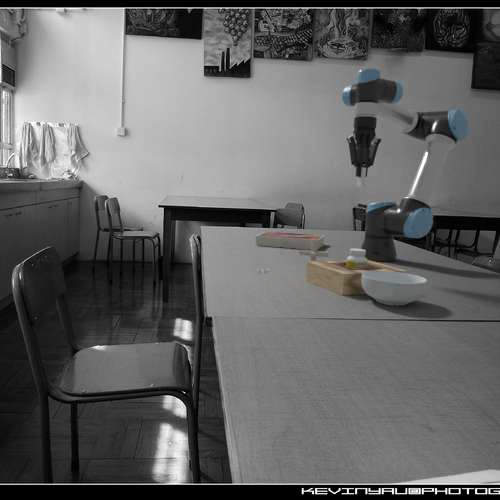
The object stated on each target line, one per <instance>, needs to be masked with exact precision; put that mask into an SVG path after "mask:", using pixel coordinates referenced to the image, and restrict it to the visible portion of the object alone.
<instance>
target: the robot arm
mask: <svg viewBox="0 0 500 500" xmlns="http://www.w3.org/2000/svg"><path fill="white" fill-rule="evenodd" d="M356 77H357V78H356V82H355V83H356V84H355V83H354V84H350V85H347V86H345V87H344V89H343V90H342V94H341V99H342V102H343V104H344V105H345V106H346V107H354V116H355V117H354V119H353V128H354V130H353V131H352V134H351V135H349V136H347V137H346V141H347V143H348V148H349V157H350V164H351V166H354V167H355V168H356V169H355V177H356V187H362V188H364V187H365V186H366V178H367V177H368V171H369V168H370V167H372V166H374V163H375V159H376V156H377V151H378V149H379V145H380V143H381V142H382V139H381V138H378V137H377V136H376V134H377V133H376V128H377V119H378V118H380V119H381V120H383V121H386V122H387V123H389V124H391V125H393V126H394V127H397V130H398V131H399V132H401V133H403V134H404V135H406V136H408V137H411V138H414V139H416V140H420V141H423V142H426V143H427V145H426V148H425V149H424V150H425V151H424V153H423V155H422V158H421V160H420V163H419V165H418V168H417V171H416V172H415V175H414V178H413V181H412V183H411V186H410V188H409V190H408V193H407V196H404V197H402V198H401V200H400V203H399V205H398V203H397V202H396V201H379V202H378V201H377V202H370V203H368V204H367V206H366V212H365V224H364V239H363V241H362V244H361V247H360V249H363V250H366V254H365V257H366V258H367V260H369V261H373V262H395V261H397V259H398V253H397V249H396V245H395V236H397V237H404V238H409V239H421V238H423V237H425V236H426V235H427V234H428V233H430V231H431V229H432V227H433V224H434V220H433V219H434V214H433V212H432V206H431V205H430V202H431V199H432V197H433V194H434V191H435V189H436V187H437V183H438V181H439V178H440V176H441V174H442V170H443V168H444V165H445V162H446V161H447V158H448V155H449V152H450V151H451V150H454V149H455V148H456V145H457V143H458V141H459V142H460V141H463V140H464V139H465V138H466V137H467V136H468V130H469V124H468V123H469V122H468V119H467V116H466V114H465V112H463V111H462V110H460V109H449V110H448V109H447V110H437V111H435V110H434V111H417V110H414V109H407V108H405V107H403V106H402V105H399V104H398V102H399V101H401V100H402V98H403V95H404V87H403V86H402V84H401V83H400V82H397V81H395V80H392V79H391V80H390V79H385V78H383V77H381V71H380V70H379V69H378V68H362V69H360V70H358V71H357V76H356Z"/></svg>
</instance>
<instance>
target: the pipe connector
mask: <svg viewBox="0 0 500 500" xmlns="http://www.w3.org/2000/svg"><path fill="white" fill-rule="evenodd" d="M299 256H307V257H310V262H312V261H317V257H320V258H321V257H323V258H324V257H325V258H328V257H329V252H328V251H322V250H321V251H320V250H317V240H312V249H311V250H304V249H299Z"/></svg>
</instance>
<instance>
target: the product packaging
mask: <svg viewBox="0 0 500 500" xmlns="http://www.w3.org/2000/svg"><path fill="white" fill-rule="evenodd" d="M312 240H317V251H319V250H320V249H321V248H322V247H323V246H325V235H323V234H322V235H320V234H311V233H310V234H309V233H308V234H305V233H295V232H294V233H293V232H280V231H268V230H267V231H266V232H262V233H260V234H257V235H255V246H256V245H257V246H256V247H268V248H269V247H270V248H279V247H283V248H282V249H291V248H295V249H294V250H304V249H305V250H306V251H311V249H312ZM320 247H321V248H320Z"/></svg>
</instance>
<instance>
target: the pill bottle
mask: <svg viewBox="0 0 500 500" xmlns="http://www.w3.org/2000/svg"><path fill="white" fill-rule="evenodd" d="M365 254H366V250H363V249H361V248H350V249H349V256H347V258H346V260H347V262H346V266H347V267H350V268H367V262H368V261H367V258H366V257H365Z"/></svg>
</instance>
